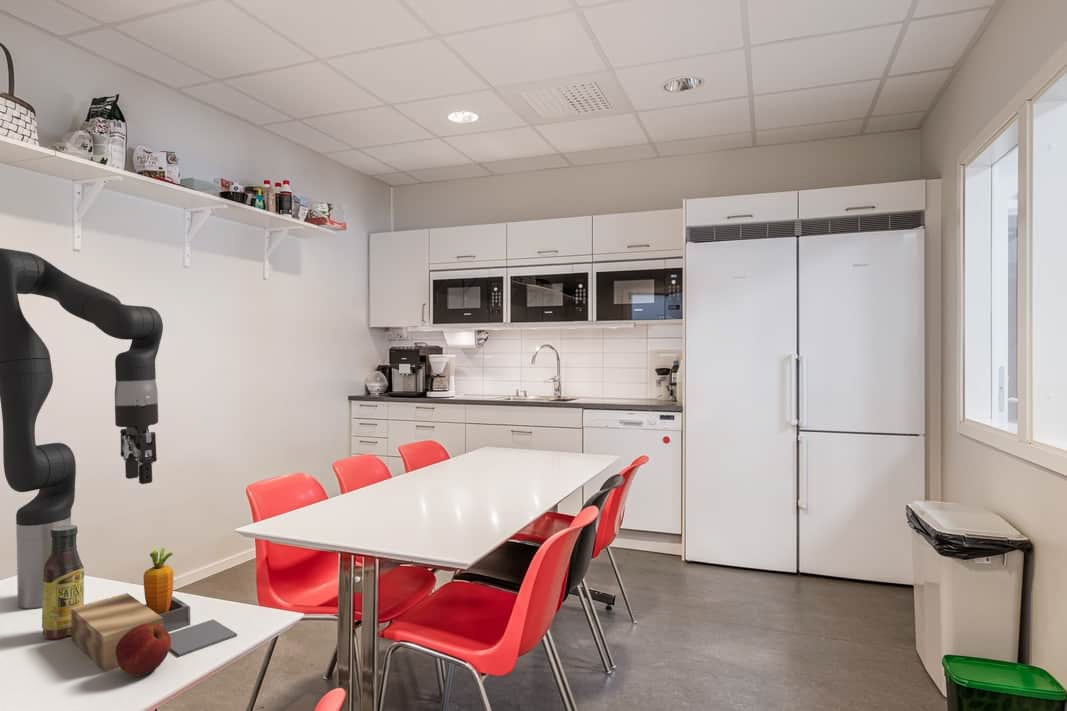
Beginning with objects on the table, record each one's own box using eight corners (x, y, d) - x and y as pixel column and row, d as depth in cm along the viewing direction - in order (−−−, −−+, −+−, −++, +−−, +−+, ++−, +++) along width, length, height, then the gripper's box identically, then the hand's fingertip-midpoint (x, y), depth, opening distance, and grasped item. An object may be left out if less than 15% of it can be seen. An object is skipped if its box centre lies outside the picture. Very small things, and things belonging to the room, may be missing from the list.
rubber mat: (157, 639, 115) (156, 637, 115) (213, 621, 122) (213, 619, 122) (179, 656, 108) (179, 654, 108) (237, 635, 116) (237, 633, 116)
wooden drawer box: (71, 640, 115) (71, 608, 115) (169, 611, 127) (169, 581, 127) (104, 672, 103) (103, 636, 103) (208, 636, 116) (207, 604, 116)
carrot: (161, 618, 124) (160, 543, 124) (180, 622, 122) (178, 546, 122) (138, 629, 119) (136, 551, 119) (156, 633, 117) (155, 553, 117)
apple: (148, 685, 99) (147, 635, 99) (102, 683, 100) (102, 633, 100) (179, 662, 106) (178, 615, 106) (136, 660, 107) (136, 614, 107)
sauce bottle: (61, 642, 114) (59, 533, 114) (33, 639, 115) (31, 532, 115) (93, 626, 121) (91, 523, 120) (66, 624, 122) (64, 522, 122)
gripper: (105, 402, 131) (107, 479, 131) (126, 405, 122) (128, 488, 122) (145, 399, 137) (147, 473, 137) (169, 402, 127) (171, 481, 127)
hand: (138, 480), depth 129 cm, fingers open, 8 cm apart
